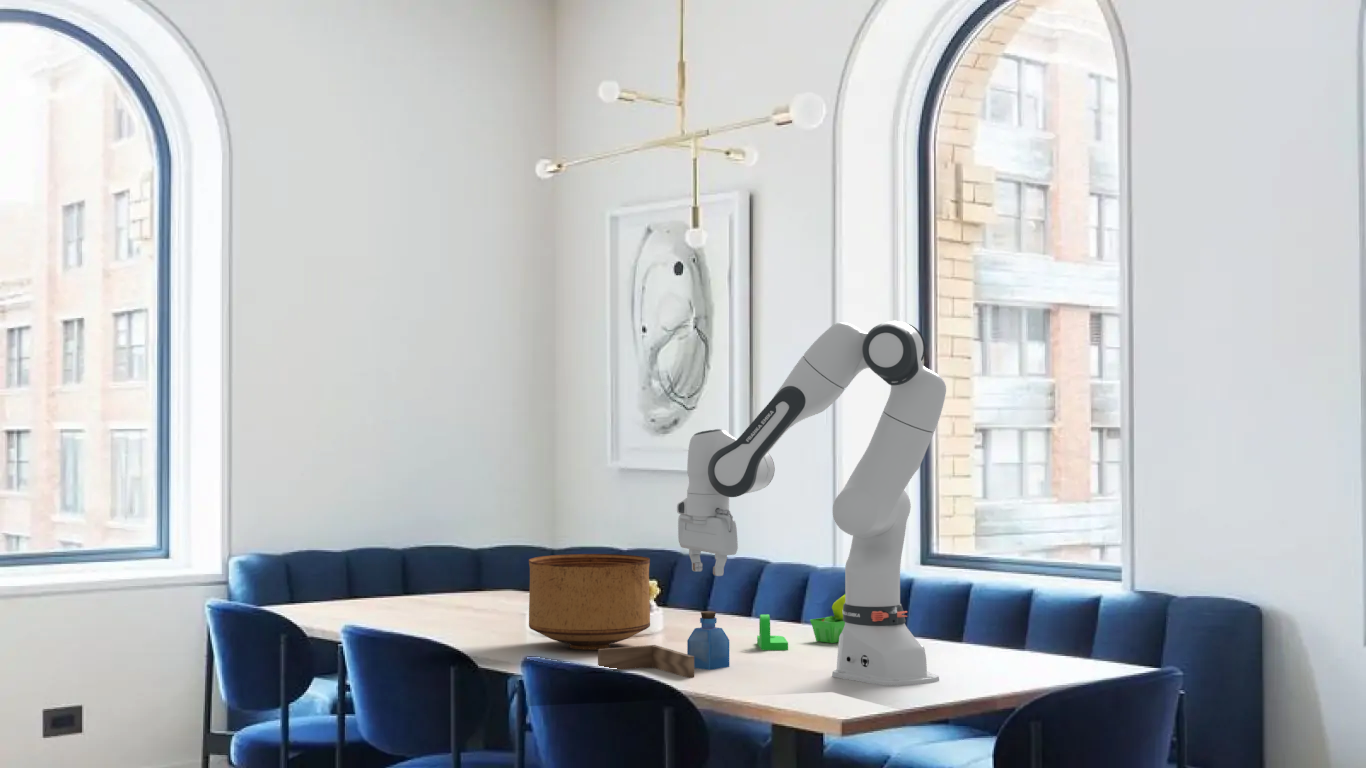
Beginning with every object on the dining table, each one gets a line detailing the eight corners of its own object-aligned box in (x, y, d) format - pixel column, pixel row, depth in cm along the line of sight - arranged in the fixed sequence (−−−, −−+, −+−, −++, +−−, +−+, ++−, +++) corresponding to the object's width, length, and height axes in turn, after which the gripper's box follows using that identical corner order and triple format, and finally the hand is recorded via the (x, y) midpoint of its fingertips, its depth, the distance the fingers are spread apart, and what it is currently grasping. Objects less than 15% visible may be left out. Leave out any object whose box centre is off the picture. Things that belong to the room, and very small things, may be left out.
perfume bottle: (729, 669, 349) (729, 612, 349) (709, 673, 344) (709, 614, 345) (707, 666, 353) (707, 609, 353) (687, 670, 349) (687, 612, 349)
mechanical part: (788, 651, 376) (787, 615, 376) (761, 651, 376) (761, 616, 376) (783, 644, 388) (782, 609, 388) (757, 644, 388) (757, 609, 388)
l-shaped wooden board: (694, 681, 334) (694, 656, 334) (635, 686, 328) (635, 660, 328) (654, 668, 350) (654, 644, 350) (598, 673, 344) (597, 649, 344)
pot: (518, 641, 391) (518, 555, 391) (633, 636, 398) (633, 552, 399) (541, 658, 364) (541, 566, 365) (664, 653, 372) (664, 563, 372)
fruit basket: (839, 636, 399) (839, 589, 399) (868, 640, 392) (868, 592, 392) (808, 641, 391) (808, 592, 391) (837, 645, 384) (837, 596, 384)
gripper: (745, 509, 341) (745, 577, 341) (699, 503, 360) (698, 568, 360) (718, 510, 339) (717, 579, 338) (673, 504, 357) (672, 569, 357)
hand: (707, 573), depth 349 cm, fingers open, 8 cm apart
